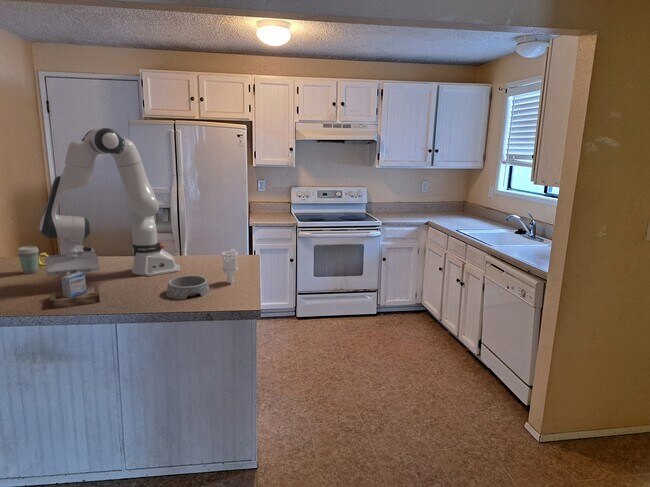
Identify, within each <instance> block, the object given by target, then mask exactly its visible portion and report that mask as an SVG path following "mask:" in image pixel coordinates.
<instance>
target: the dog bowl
mask: <svg viewBox="0 0 650 487" xmlns="http://www.w3.org/2000/svg"><path fill="white" fill-rule="evenodd" d="M210 292H211V288H210V286H209V283H208V279H207V278H206V277H205V276H200V275H196V274H195V275H194V274H193V275H192V274H191V275H188V274H187V275H182V276H181V275H180V276H177V277H174V278H171V279H170V280H169V281H168V283H167V288H166V293H165V295H166V297H168V298H169V299H174V300H187V297H193V296H197V295H200V296H201V297H205V296H207V295H208V294H209V293H210Z"/></svg>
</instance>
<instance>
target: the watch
mask: <svg viewBox="0 0 650 487" xmlns="http://www.w3.org/2000/svg"><path fill="white" fill-rule="evenodd" d="M42 256H45V258H46V257H48V256H49V254H47V252H42V253H39V254H38V265H41V266H46V264H45V263H43V262H42V261H41V257H42Z"/></svg>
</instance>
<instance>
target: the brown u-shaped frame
mask: <svg viewBox="0 0 650 487" xmlns="http://www.w3.org/2000/svg"><path fill="white" fill-rule="evenodd" d="M93 289H94V293H93V294H88V295H78V296H76V297H70V298H68V297H63V298H57V293H56V290H52V291H51V292H50V296H49V306H50V307H49V308H50V309H51V310H52V309H59V308H65V307H66V308H67V307H73V306H80V305H87V304H88V305H90V304H95V303H97V304H98V303H101V300H100V291H99V286H98V285H95V286H93Z"/></svg>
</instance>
